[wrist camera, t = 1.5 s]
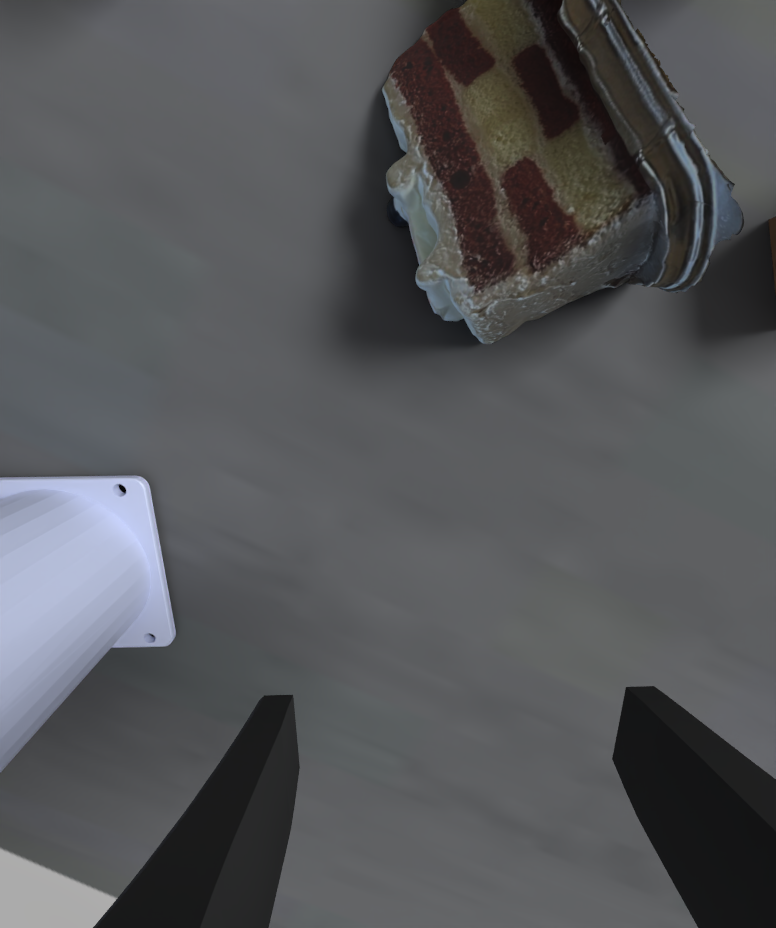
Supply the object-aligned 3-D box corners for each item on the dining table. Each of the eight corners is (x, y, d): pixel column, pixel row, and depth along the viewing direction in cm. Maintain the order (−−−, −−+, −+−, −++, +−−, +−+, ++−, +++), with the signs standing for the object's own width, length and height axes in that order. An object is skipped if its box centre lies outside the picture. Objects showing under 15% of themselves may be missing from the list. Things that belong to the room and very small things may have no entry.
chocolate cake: (306, 40, 13) (352, 282, 8) (513, -168, 11) (809, -25, 5) (430, 253, 21) (498, 453, 15) (569, 164, 18) (714, 367, 13)
